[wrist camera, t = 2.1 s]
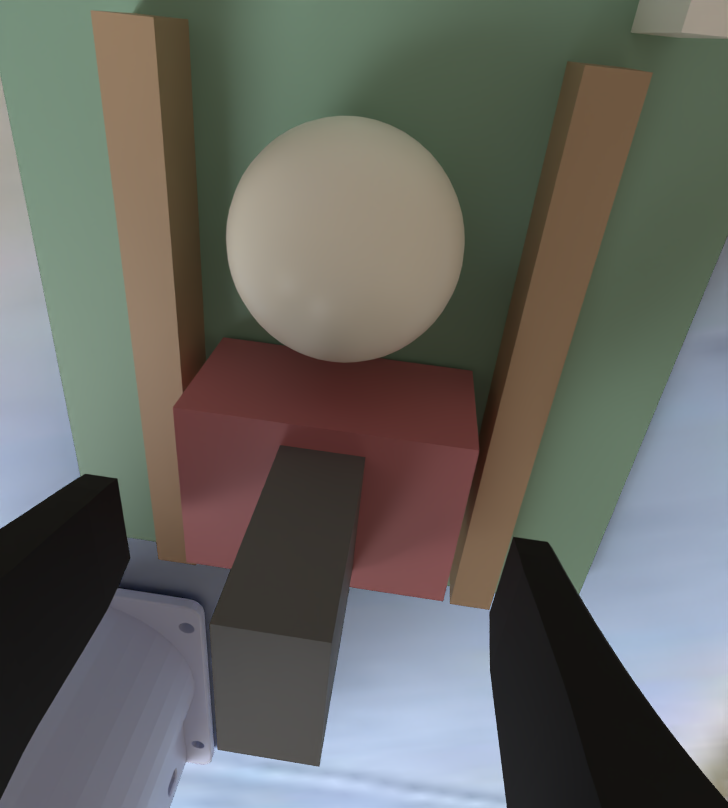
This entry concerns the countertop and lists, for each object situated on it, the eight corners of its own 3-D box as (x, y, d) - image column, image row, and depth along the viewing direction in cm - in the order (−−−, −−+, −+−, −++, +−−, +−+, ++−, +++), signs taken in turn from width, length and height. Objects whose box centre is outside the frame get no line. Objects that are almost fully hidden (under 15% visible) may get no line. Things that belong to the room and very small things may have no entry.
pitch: (569, 582, 18) (585, 650, 16) (104, 513, 18) (64, 571, 16) (1034, -591, 7) (1258, -827, 5) (-107, -660, 8) (-293, -893, 6)
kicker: (443, 507, 15) (443, 804, 9) (227, 476, 16) (97, 745, 10) (472, 370, 13) (495, 641, 7) (223, 337, 14) (53, 573, 8)
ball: (443, 320, 13) (444, 422, 10) (260, 297, 13) (197, 387, 10) (479, 116, 11) (496, 153, 7) (261, 91, 11) (180, 117, 8)
